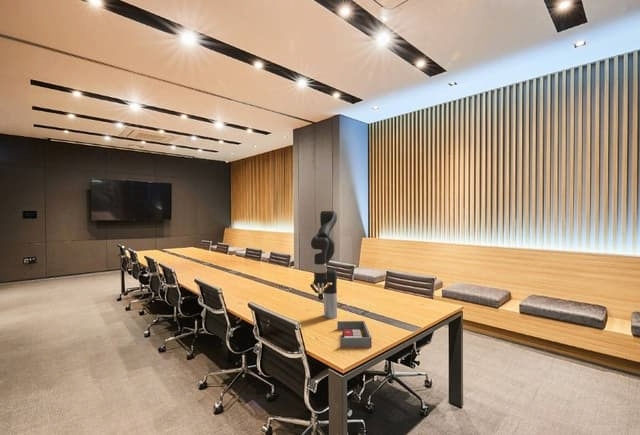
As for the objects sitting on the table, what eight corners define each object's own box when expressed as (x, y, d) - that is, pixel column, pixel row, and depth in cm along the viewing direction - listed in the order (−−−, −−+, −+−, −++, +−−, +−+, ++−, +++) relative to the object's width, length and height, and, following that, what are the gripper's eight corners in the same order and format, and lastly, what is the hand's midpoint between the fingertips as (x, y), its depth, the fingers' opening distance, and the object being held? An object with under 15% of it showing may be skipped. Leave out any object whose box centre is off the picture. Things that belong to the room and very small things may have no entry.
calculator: (360, 328, 180) (363, 338, 165) (360, 336, 180) (363, 345, 165) (342, 328, 181) (343, 338, 166) (342, 336, 181) (343, 345, 166)
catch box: (337, 329, 189) (337, 321, 189) (364, 328, 189) (364, 320, 189) (340, 347, 163) (340, 338, 163) (371, 347, 163) (371, 338, 163)
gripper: (331, 269, 182) (331, 297, 183) (309, 269, 182) (309, 298, 182) (331, 272, 175) (332, 301, 175) (309, 272, 174) (309, 301, 175)
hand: (320, 299), depth 179 cm, fingers closed
